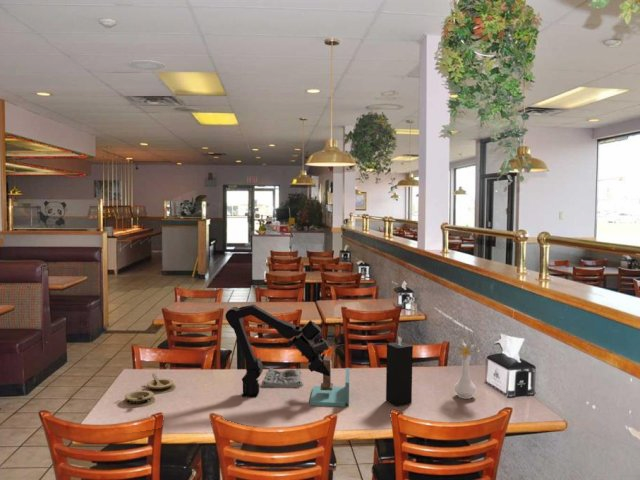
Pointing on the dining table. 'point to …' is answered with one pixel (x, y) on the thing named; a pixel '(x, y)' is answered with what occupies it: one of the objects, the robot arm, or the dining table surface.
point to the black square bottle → (399, 373)
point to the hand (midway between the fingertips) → (330, 373)
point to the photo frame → (326, 379)
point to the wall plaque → (282, 378)
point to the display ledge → (331, 395)
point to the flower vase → (465, 367)
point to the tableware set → (148, 393)
